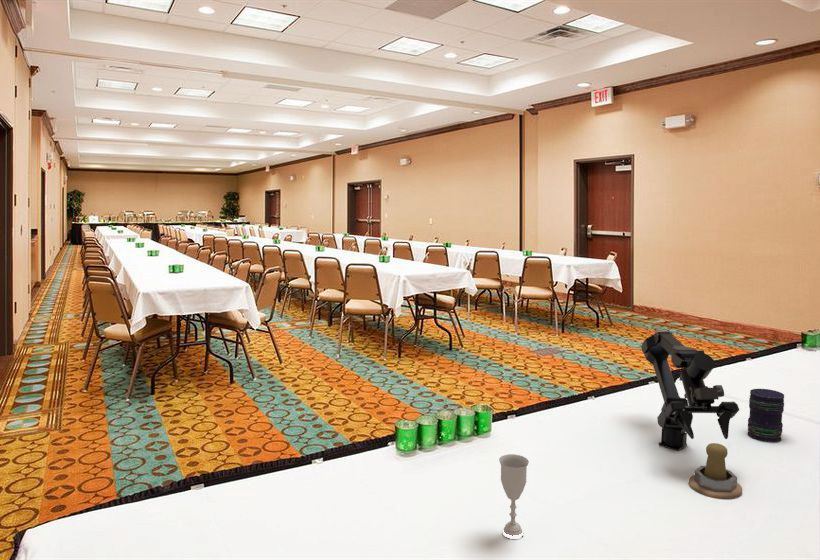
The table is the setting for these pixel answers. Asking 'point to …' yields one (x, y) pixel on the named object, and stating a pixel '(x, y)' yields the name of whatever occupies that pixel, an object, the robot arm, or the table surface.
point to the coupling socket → (715, 485)
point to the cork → (716, 461)
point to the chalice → (513, 485)
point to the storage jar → (765, 415)
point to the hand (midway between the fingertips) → (709, 438)
